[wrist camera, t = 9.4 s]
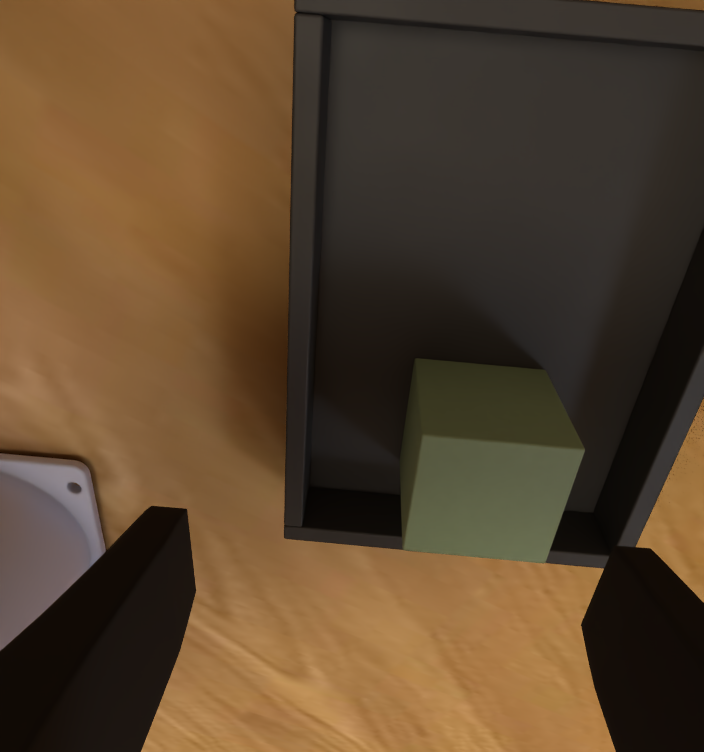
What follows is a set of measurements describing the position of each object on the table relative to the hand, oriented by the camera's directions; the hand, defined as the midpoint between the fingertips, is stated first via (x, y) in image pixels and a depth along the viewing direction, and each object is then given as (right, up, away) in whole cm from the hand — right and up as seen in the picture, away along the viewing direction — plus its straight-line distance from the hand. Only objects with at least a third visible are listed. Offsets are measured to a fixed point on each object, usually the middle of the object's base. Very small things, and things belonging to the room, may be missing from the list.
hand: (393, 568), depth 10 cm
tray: (+3, +5, +7) cm, 9 cm away
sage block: (+3, +2, +8) cm, 9 cm away
